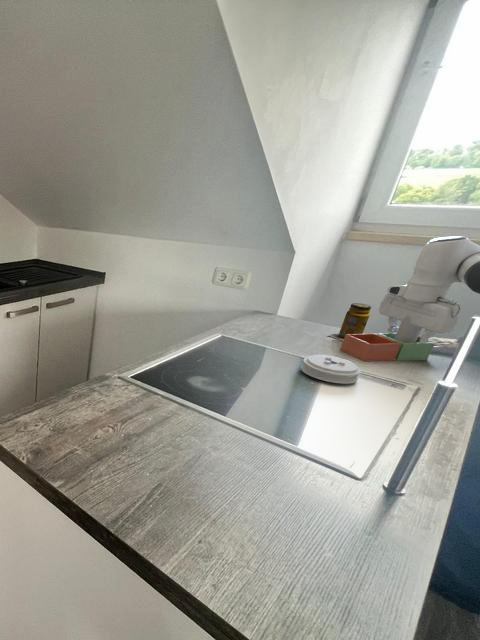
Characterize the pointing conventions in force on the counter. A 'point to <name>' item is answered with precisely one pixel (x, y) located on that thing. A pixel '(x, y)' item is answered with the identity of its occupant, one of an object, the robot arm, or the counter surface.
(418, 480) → the counter surface
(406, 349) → the green bin
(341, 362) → the lid
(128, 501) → the counter surface
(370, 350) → the terracotta bin
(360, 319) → the condiment
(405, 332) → the beverage can
